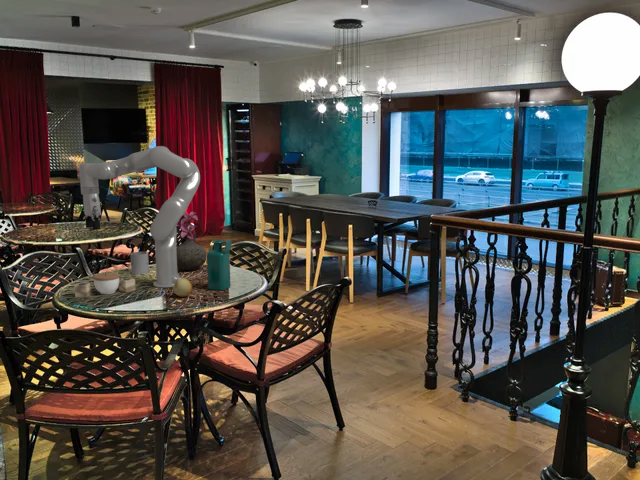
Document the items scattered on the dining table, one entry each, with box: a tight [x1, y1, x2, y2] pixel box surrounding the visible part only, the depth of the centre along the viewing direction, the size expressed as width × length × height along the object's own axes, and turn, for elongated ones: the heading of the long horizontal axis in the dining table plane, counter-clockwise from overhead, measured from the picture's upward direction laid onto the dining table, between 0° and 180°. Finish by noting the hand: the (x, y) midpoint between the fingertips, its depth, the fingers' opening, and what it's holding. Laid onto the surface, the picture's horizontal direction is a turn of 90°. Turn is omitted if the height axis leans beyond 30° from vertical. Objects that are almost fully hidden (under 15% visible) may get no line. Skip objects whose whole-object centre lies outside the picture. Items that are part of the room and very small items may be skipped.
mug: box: [130, 251, 150, 275], centre depth 299 cm, size 12×9×10 cm
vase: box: [176, 211, 207, 272], centre depth 302 cm, size 17×17×30 cm
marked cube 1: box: [74, 282, 93, 298], centre depth 252 cm, size 5×5×5 cm
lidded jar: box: [93, 271, 120, 295], centre depth 256 cm, size 11×11×9 cm
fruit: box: [172, 278, 193, 298], centre depth 249 cm, size 8×8×8 cm
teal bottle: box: [206, 239, 232, 291], centre depth 262 cm, size 10×8×22 cm
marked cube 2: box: [118, 277, 136, 293], centre depth 261 cm, size 5×5×5 cm
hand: (93, 228), depth 265 cm, fingers open, 9 cm apart
